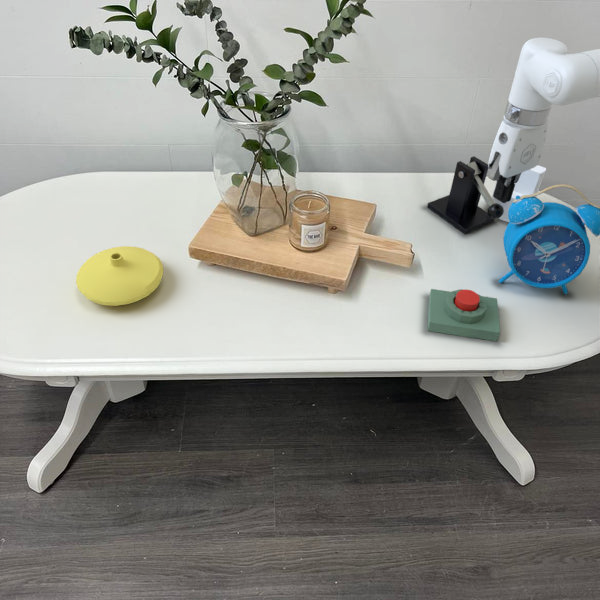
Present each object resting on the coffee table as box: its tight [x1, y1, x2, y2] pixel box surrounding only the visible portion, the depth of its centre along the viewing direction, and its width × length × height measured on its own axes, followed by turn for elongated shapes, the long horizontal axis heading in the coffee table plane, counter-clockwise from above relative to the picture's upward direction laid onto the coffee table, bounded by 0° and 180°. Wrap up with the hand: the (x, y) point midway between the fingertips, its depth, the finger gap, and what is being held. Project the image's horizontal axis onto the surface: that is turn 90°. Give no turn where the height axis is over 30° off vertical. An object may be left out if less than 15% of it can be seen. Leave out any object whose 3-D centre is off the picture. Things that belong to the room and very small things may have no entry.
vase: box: [75, 245, 164, 307], centre depth 106 cm, size 16×16×7 cm
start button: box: [455, 289, 480, 312], centre depth 101 cm, size 4×4×2 cm
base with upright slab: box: [491, 165, 547, 223], centre depth 126 cm, size 9×9×12 cm
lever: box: [466, 161, 504, 220], centre depth 120 cm, size 13×3×3 cm, turn 33°
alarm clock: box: [498, 183, 600, 295], centre depth 105 cm, size 17×10×20 cm, turn 76°
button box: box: [427, 288, 501, 342], centre depth 102 cm, size 12×9×4 cm
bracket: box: [426, 155, 496, 235], centre depth 124 cm, size 12×9×13 cm
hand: (501, 199), depth 117 cm, fingers closed
